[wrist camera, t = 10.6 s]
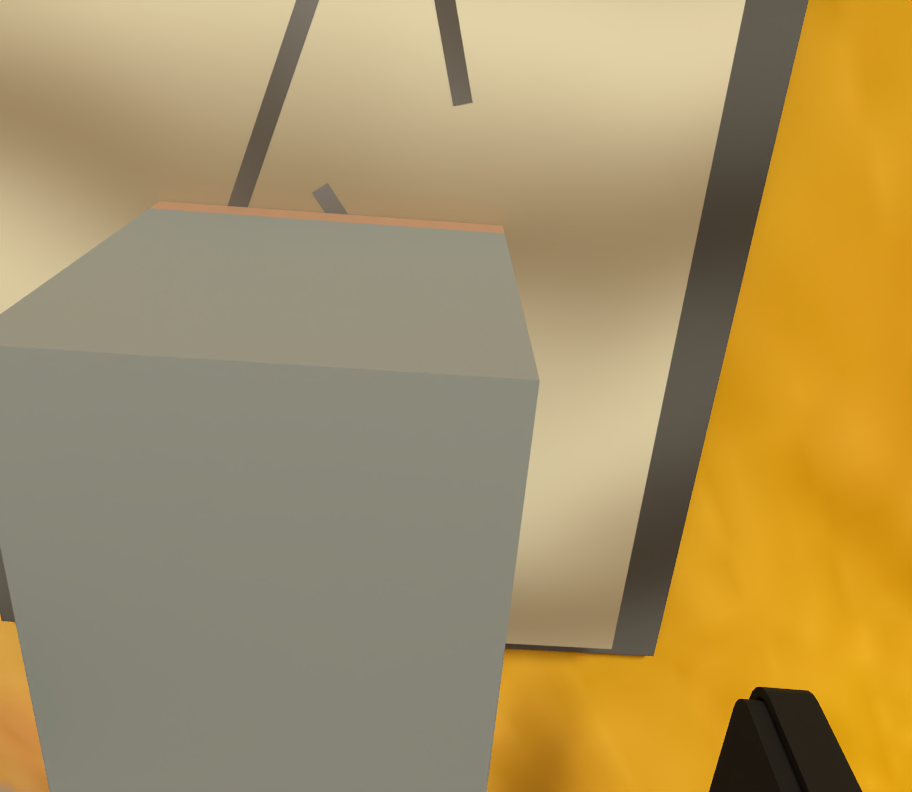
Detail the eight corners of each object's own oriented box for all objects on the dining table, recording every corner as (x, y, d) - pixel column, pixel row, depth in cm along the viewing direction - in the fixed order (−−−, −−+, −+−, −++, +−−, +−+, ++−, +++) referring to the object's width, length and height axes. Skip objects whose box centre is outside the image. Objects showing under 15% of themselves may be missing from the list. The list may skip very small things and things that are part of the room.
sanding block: (159, 201, 13) (-42, 343, 8) (502, 225, 13) (539, 380, 8) (192, 598, 17) (69, 887, 11) (464, 612, 17) (471, 903, 11)
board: (-279, -869, 10) (-445, -1067, 8) (961, -716, 10) (1071, -867, 9) (12, 606, 19) (-34, 669, 17) (648, 641, 20) (668, 705, 18)
